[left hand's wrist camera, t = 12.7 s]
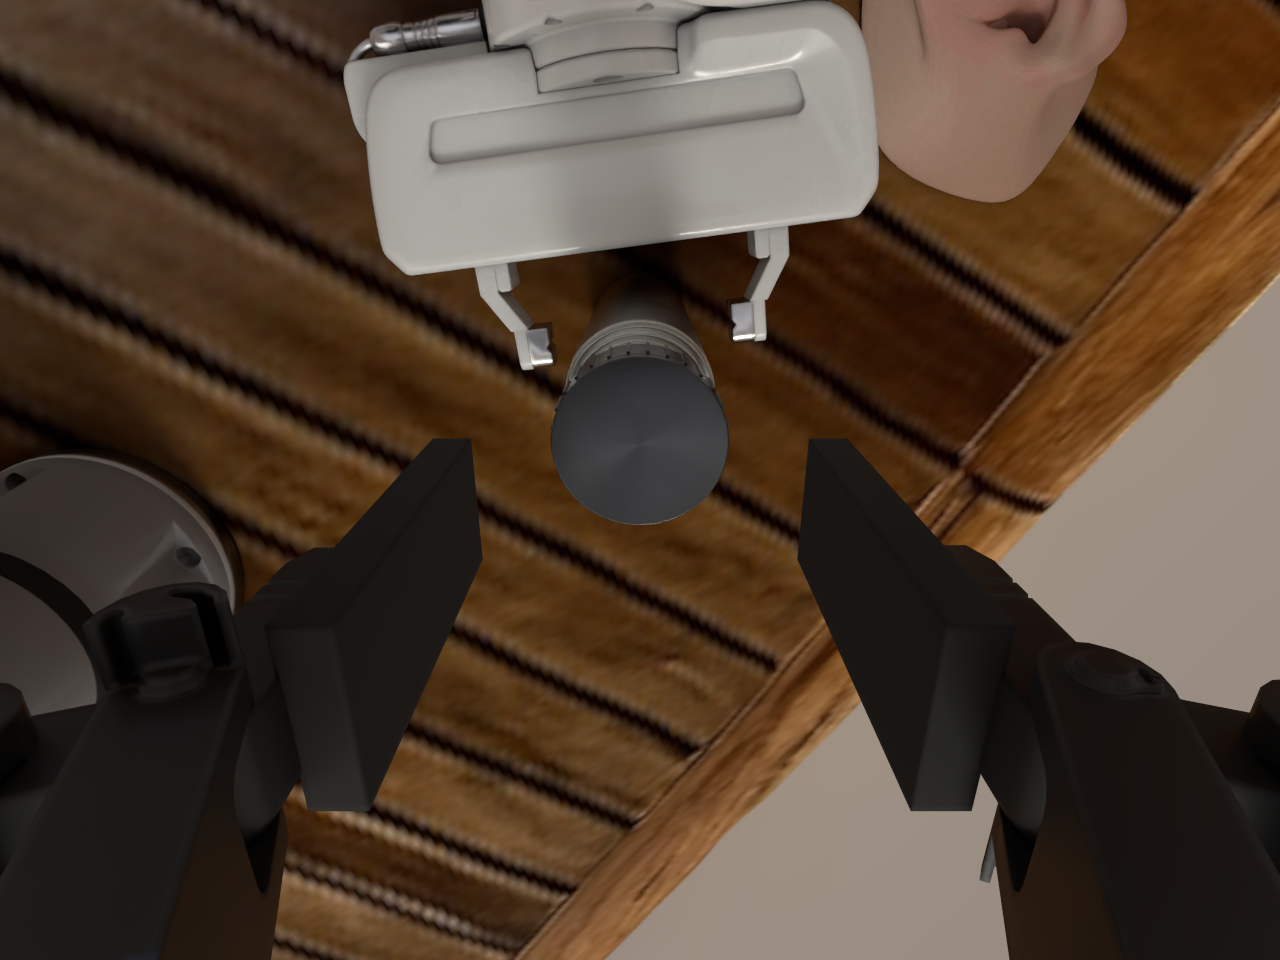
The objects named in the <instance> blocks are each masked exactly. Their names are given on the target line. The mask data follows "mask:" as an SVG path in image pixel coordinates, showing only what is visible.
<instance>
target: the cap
mask: <svg viewBox="0 0 1280 960" xmlns="http://www.w3.org/2000/svg"><path fill="white" fill-rule="evenodd" d="M715 391H716V390H715V387H714V385H713V382H712V380H711V378H710V377H708V378H707V377H706V375H705V374H704V373H703V371H702V370H701V368H700V365H699V364H698V363H697V364H695V363H693V362H692V361H691V360H689V359H688V358H687V357H686V356H685V354H684V353H683V352H682V353H681V354H680V353H678V352H676V351H674V350H671V349H669V348H668V346H667V345H665V346H664V347H662V346H658V345H653V344H649V342H646V344H631V343H630V342H627V345H621V346H618V347H614V348H612V346H610V347H609V349H608V350H606V351H604V352H602V353H600V354H598V355H597V356H596V355H595V354H594V355H592V358H591V360H589V361H588V362H587V363H586V364H584V365H583V366H582V367H581V366H579V367H578V369H577V372H576V374H575V375H574V377H573V378H572V379H571V381H570V380H568V381H567V383H566V386H565V388H564V391H563V393H562V394H563V396H560V398H559V401H558V403H557V405H556V408H555V410H554V411H556V414H555V417H554V420H553V423H552V425H551V429H552V433H551V449H552V455H553V460H554V464H555V467H556V470H557V472H558V474H559V476H560V478H561V480H562V482H563V484H564V485H565V487H566V488H567V490H568V491H569V492H570V493H571V494H572V495H573V497H574V498H575V499H576V500H577V501H579V502H580V503H581V504H582V505H583V506H584V507H586V508H587V509H589V510H590V511H592V512H593V513H595V514H597V515H599V516H601V517H603V518H606V519H609V520H611V521H614V522H619V523H623V524H630V525H650V524H657V523H661V522H665V521H669V520H672V519H674V518H677V517H679V516H681V515H683V514H685V513H687V512H688V511H690V510H691V509H693V508H694V507H696V506H697V505H698V504H699V503H700V502H701V501H703V500H704V499H705V498H706V497H707V495H708V494H709V493H710V492H711V491H712V490H713V488H714V487H715V485H716V484H717V482H718V480H719V478H720V476H721V474H722V472H723V470H724V467H725V464H726V461H727V455H728V450H729V433H728V426H729V423H728V420H727V418H726V416H725V413H724V411H723V408H724V405H723V403H722V400H721V398H720V396H719V393H716V392H715Z"/></svg>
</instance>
